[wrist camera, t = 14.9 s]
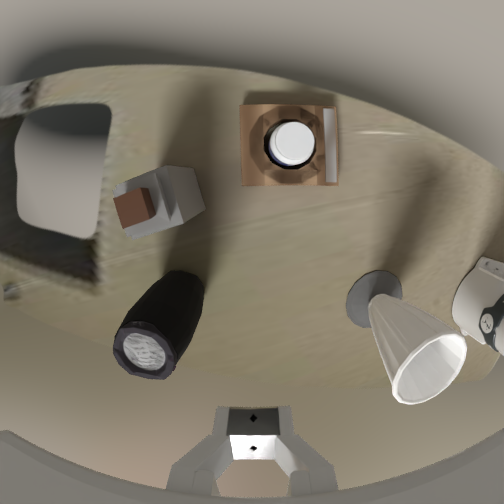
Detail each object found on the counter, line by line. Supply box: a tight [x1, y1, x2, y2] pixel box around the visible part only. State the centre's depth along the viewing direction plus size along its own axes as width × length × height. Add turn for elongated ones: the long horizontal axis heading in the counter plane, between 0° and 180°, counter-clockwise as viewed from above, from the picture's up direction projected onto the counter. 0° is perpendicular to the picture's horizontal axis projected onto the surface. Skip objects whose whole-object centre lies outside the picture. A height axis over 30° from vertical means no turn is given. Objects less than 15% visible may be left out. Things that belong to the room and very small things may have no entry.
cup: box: [346, 271, 467, 405], centre depth 36 cm, size 12×12×22 cm
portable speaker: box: [113, 270, 204, 380], centre depth 37 cm, size 9×9×20 cm
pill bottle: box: [268, 122, 314, 166], centre depth 35 cm, size 6×6×10 cm
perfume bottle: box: [112, 165, 206, 240], centre depth 34 cm, size 7×7×18 cm
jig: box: [240, 104, 338, 186], centre depth 39 cm, size 14×12×3 cm
